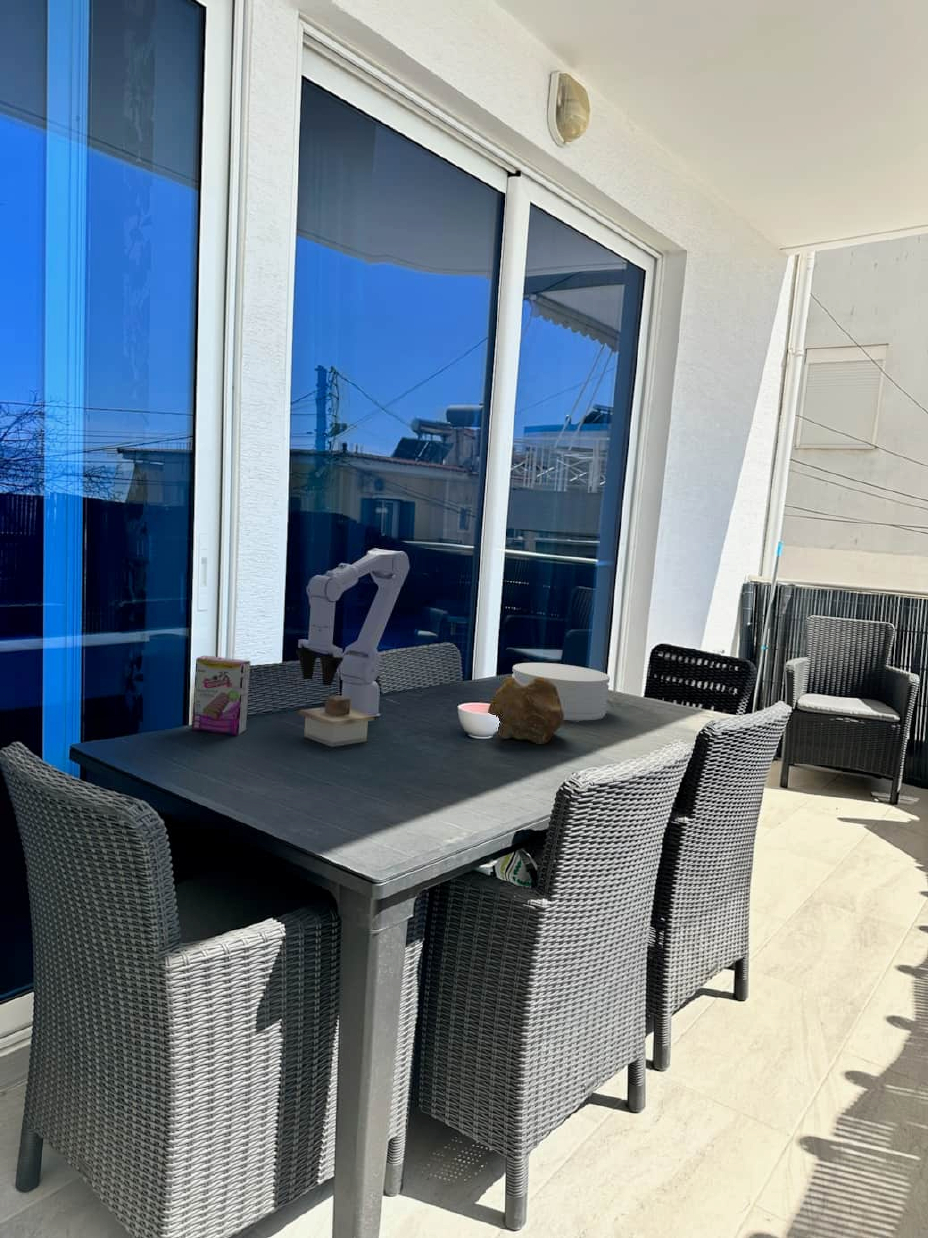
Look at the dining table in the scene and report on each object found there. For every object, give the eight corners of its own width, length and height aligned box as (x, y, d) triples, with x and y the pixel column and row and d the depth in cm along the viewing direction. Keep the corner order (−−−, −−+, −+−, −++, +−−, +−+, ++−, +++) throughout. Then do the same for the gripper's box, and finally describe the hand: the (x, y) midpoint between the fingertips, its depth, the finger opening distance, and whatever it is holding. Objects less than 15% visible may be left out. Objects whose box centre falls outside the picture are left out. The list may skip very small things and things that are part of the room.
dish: (338, 731, 208) (340, 710, 207) (366, 741, 201) (368, 719, 200) (304, 736, 200) (305, 714, 200) (331, 746, 194) (333, 724, 193)
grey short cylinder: (492, 699, 262) (496, 662, 261) (572, 699, 274) (576, 663, 273) (538, 722, 237) (543, 681, 236) (624, 721, 249) (629, 681, 248)
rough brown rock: (530, 756, 204) (542, 694, 202) (474, 735, 214) (485, 675, 212) (581, 745, 222) (592, 688, 220) (527, 725, 232) (538, 671, 230)
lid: (340, 709, 208) (342, 690, 208) (373, 720, 200) (375, 701, 200) (299, 714, 200) (300, 695, 199) (332, 726, 191) (333, 706, 191)
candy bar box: (190, 730, 197) (194, 658, 195) (199, 725, 202) (203, 654, 200) (239, 735, 196) (243, 663, 194) (246, 730, 201) (251, 659, 199)
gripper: (289, 621, 211) (285, 677, 213) (327, 630, 202) (322, 689, 203) (313, 621, 217) (309, 675, 218) (350, 630, 207) (346, 686, 208)
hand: (317, 682), depth 211 cm, fingers open, 7 cm apart
